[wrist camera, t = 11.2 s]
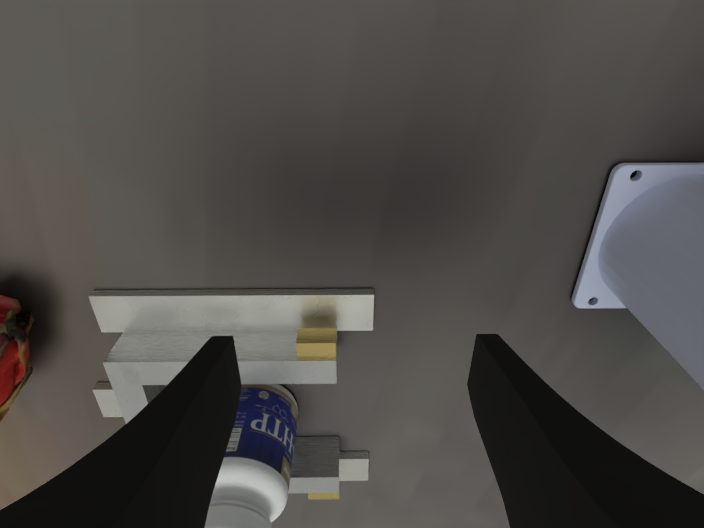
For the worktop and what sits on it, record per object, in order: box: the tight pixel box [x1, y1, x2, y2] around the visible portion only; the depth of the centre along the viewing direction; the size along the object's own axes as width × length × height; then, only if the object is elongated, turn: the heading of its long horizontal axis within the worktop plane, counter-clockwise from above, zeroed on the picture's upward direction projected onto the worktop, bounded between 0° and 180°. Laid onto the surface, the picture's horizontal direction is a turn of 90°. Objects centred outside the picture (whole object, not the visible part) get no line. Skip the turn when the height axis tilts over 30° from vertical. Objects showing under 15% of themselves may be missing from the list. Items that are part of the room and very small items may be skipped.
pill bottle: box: [205, 384, 298, 528], centre depth 24 cm, size 5×5×9 cm
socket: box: [88, 289, 374, 499], centre depth 26 cm, size 17×16×3 cm
